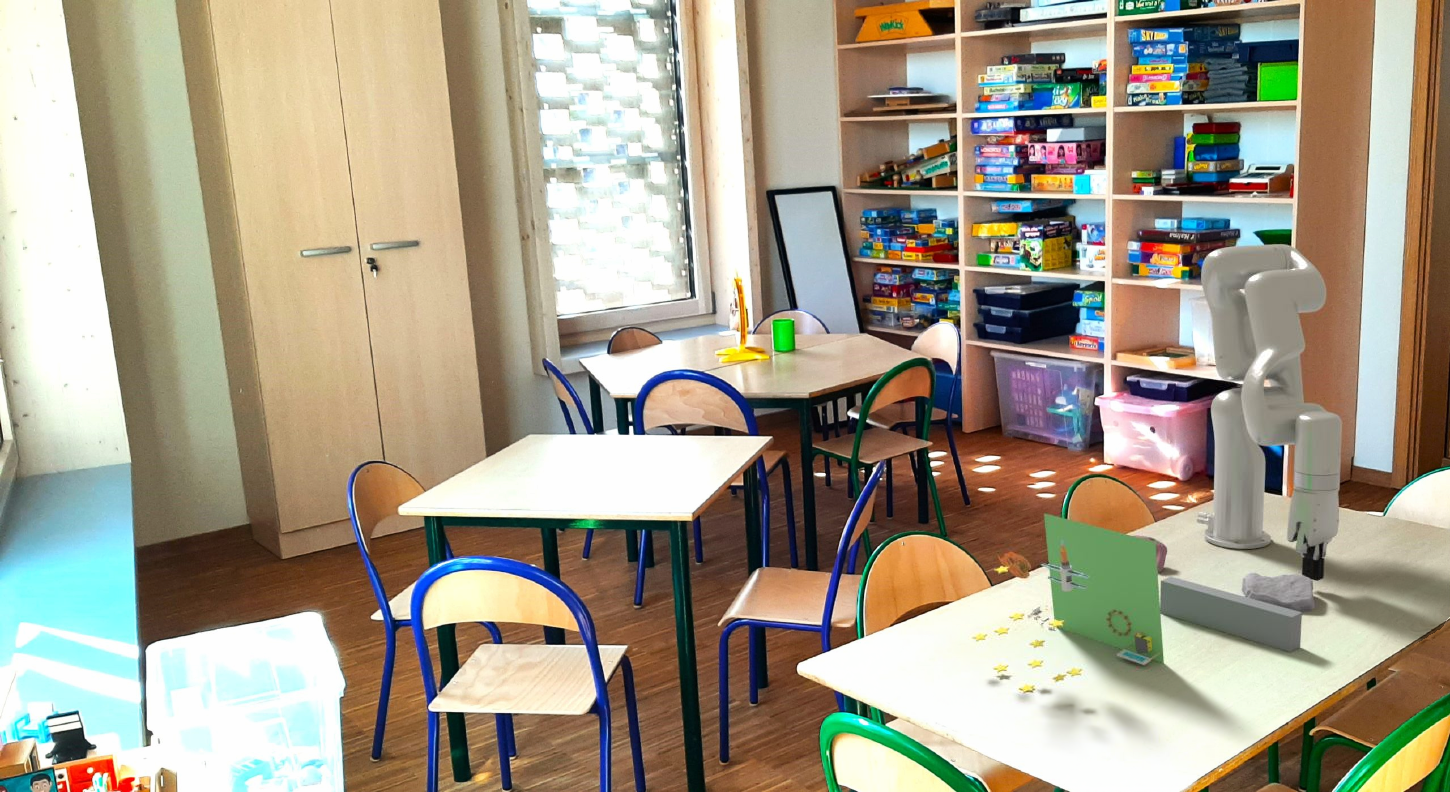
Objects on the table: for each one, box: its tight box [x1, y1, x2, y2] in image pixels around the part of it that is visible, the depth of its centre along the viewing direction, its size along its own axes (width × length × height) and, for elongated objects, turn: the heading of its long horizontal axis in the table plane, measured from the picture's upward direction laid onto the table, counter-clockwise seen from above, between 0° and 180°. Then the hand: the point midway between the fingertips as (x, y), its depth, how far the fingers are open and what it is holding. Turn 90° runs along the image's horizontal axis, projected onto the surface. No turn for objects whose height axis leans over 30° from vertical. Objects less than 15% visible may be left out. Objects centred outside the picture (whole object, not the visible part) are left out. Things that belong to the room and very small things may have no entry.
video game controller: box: [1133, 534, 1168, 574], centre depth 246 cm, size 10×5×7 cm, turn 58°
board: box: [1159, 576, 1303, 653], centre depth 213 cm, size 24×3×6 cm, turn 38°
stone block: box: [1241, 572, 1316, 612], centre depth 225 cm, size 12×5×10 cm
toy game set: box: [972, 513, 1165, 694], centre depth 201 cm, size 22×25×24 cm
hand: (1312, 577), depth 229 cm, fingers closed
